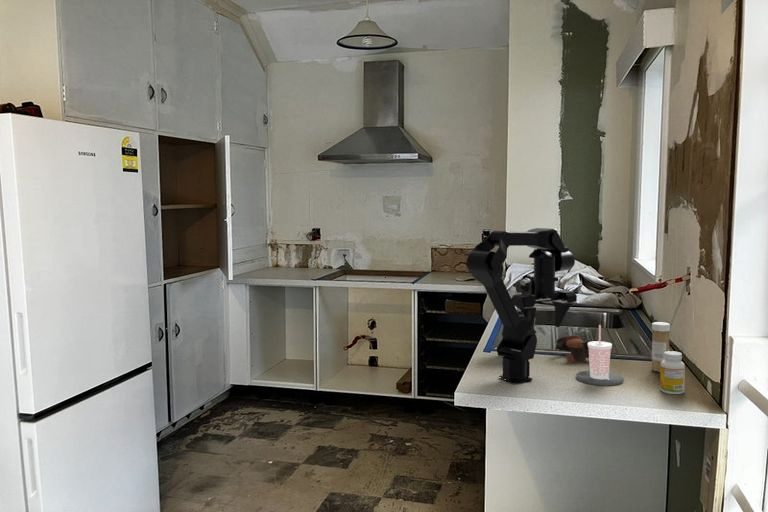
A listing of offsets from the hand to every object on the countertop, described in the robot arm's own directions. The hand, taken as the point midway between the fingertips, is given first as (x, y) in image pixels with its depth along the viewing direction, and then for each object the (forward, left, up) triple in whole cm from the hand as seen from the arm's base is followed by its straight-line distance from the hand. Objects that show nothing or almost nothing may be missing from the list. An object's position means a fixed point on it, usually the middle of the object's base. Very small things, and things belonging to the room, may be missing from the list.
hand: (544, 328), depth 167 cm
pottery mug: (+16, +6, -12) cm, 21 cm away
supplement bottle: (+16, -29, -12) cm, 35 cm away
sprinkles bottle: (+28, -15, -12) cm, 34 cm away
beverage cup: (+8, -13, -12) cm, 19 cm away
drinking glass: (+4, +17, -12) cm, 21 cm away
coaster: (+8, -13, -12) cm, 19 cm away
